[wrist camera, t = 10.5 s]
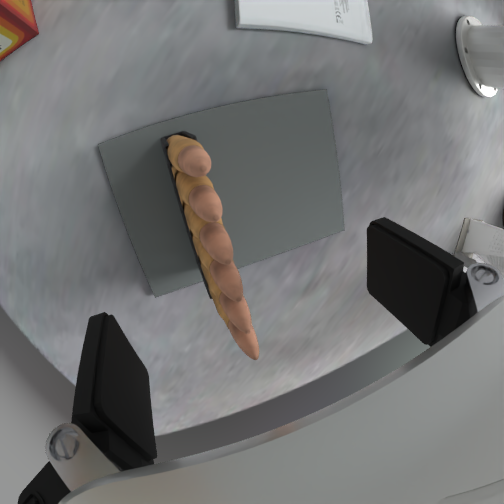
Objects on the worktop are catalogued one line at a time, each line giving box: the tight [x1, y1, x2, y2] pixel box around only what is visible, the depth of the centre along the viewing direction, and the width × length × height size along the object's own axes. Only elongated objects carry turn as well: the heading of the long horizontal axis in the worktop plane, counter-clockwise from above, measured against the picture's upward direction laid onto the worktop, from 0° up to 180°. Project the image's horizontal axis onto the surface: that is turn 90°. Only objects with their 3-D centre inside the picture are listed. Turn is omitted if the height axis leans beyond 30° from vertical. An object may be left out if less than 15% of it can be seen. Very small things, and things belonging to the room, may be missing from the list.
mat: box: [98, 89, 344, 298], centre depth 22 cm, size 18×13×1 cm
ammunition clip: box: [161, 131, 259, 360], centre depth 16 cm, size 11×2×12 cm, turn 12°
